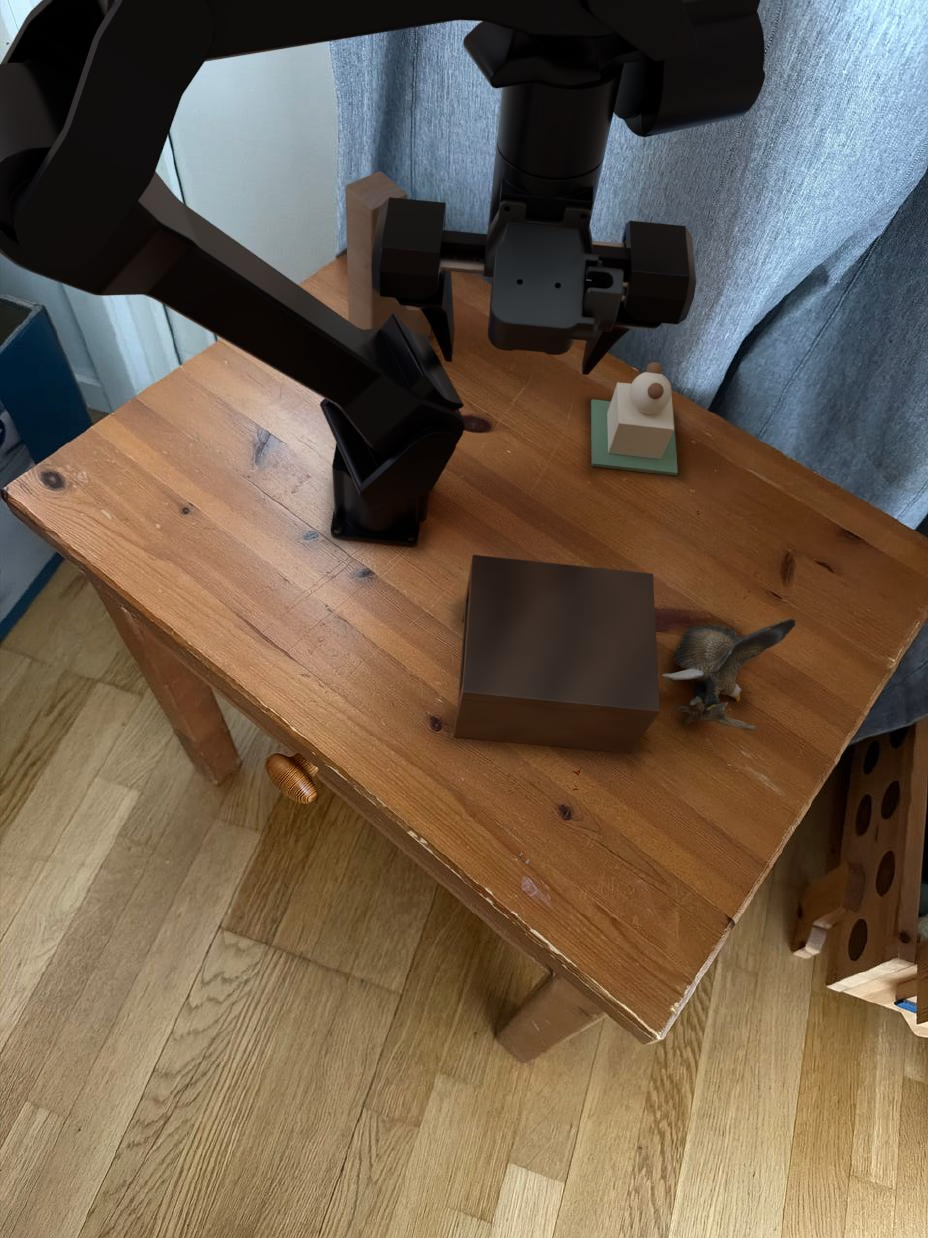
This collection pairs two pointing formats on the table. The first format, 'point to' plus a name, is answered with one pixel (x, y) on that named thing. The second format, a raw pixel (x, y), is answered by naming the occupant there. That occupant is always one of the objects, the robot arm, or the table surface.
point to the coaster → (625, 462)
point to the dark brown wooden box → (557, 655)
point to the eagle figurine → (720, 666)
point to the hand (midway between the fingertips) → (517, 363)
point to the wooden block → (361, 228)
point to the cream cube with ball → (641, 415)
